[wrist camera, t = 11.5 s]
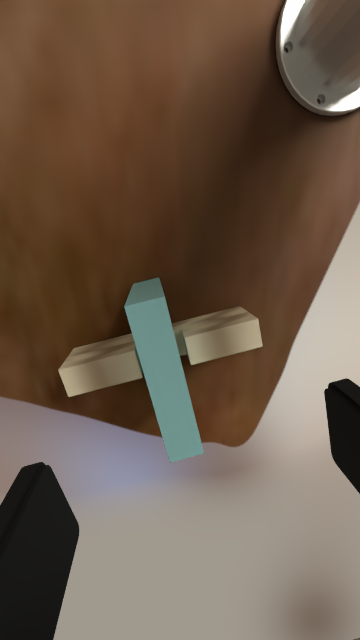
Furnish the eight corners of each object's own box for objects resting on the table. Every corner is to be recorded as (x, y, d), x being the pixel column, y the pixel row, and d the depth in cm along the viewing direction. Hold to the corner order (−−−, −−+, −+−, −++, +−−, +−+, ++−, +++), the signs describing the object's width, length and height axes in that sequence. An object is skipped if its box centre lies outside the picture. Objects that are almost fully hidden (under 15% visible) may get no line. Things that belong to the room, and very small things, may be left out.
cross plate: (133, 283, 32) (124, 306, 21) (159, 277, 32) (164, 296, 21) (163, 392, 36) (170, 462, 25) (186, 386, 36) (204, 453, 25)
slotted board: (239, 305, 34) (258, 318, 28) (244, 329, 35) (262, 346, 29) (73, 348, 33) (58, 370, 28) (82, 371, 34) (68, 397, 29)
